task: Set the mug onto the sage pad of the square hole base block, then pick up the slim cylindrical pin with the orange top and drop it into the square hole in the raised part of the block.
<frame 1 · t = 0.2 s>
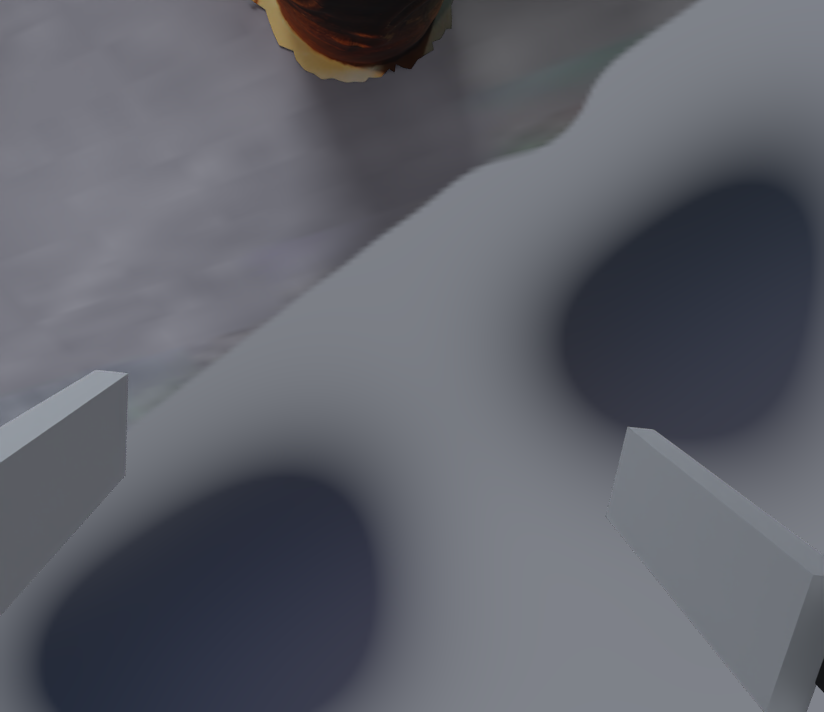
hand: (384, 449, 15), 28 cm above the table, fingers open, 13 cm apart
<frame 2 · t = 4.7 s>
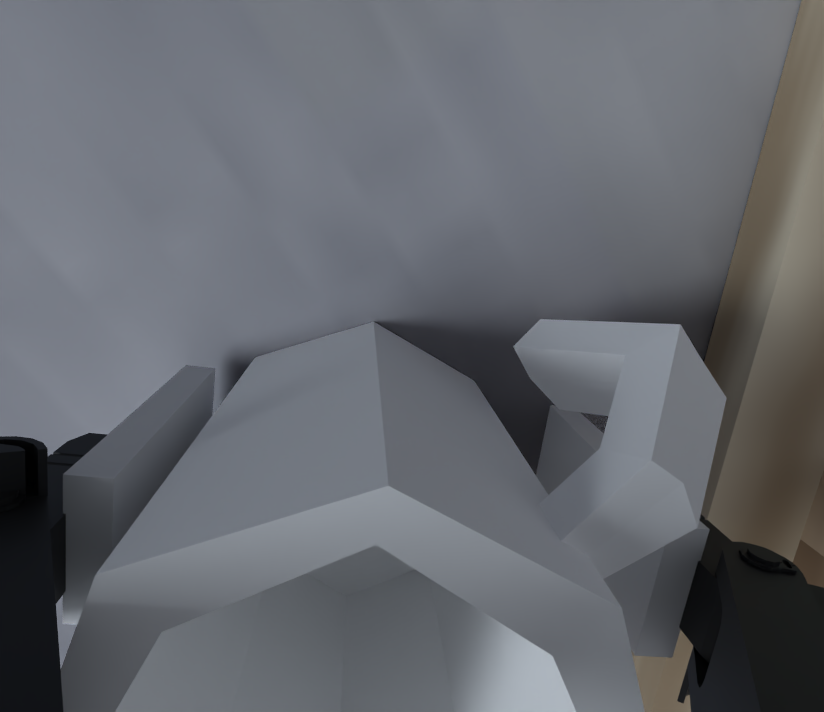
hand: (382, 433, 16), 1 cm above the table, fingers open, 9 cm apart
mug: (407, 421, 17), on the table, touching gripper
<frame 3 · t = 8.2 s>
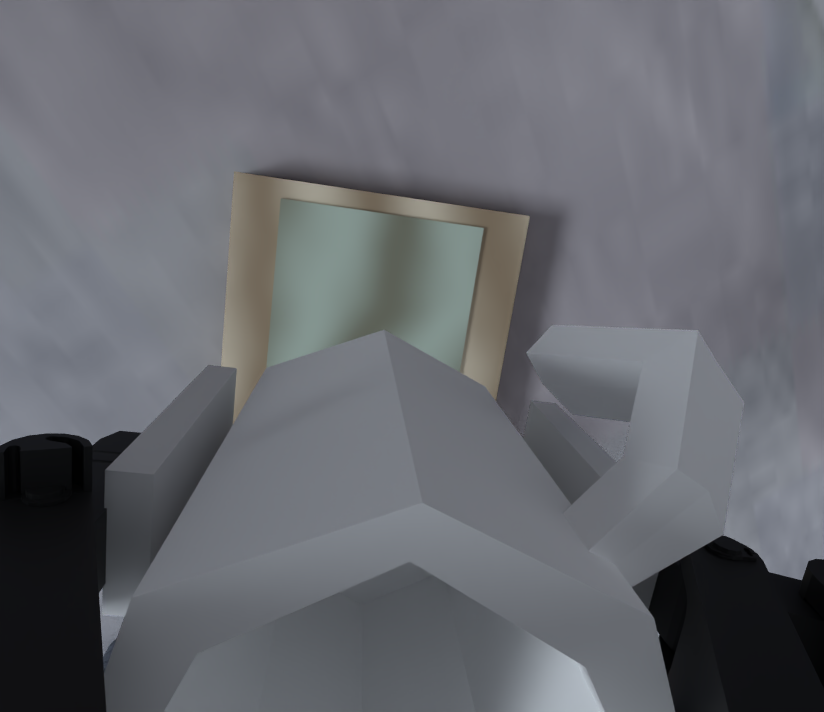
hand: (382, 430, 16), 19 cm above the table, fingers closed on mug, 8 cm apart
mug: (419, 428, 17), point 18 cm above the table, touching gripper
square hole base block: (358, 409, 36), on the table
when the fingers open (4 cm above the table, at t = 11.2 s): mug drops 1 cm, resting on square hole base block.
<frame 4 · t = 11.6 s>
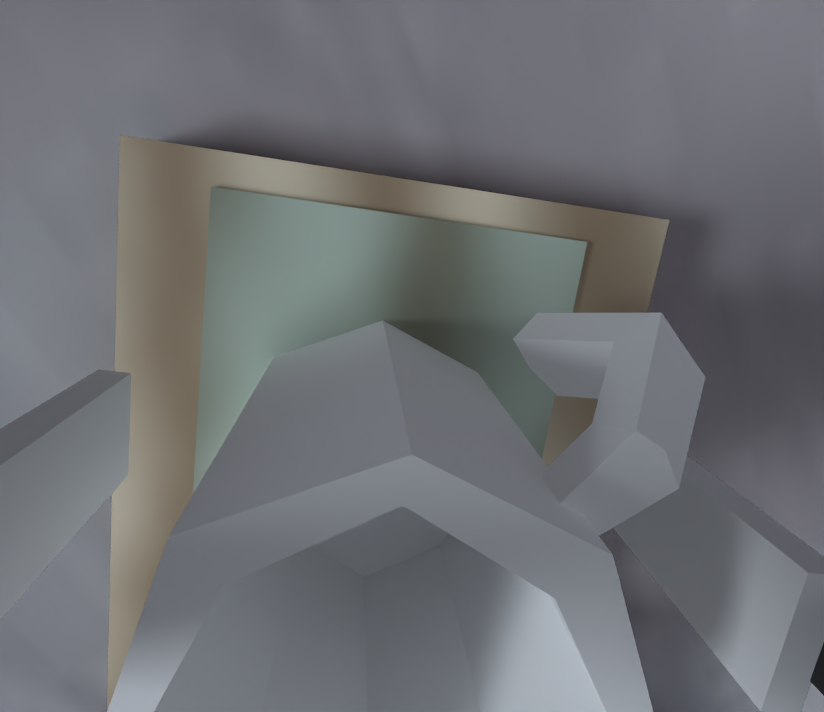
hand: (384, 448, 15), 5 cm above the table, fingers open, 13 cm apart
mug: (417, 412, 18), point 2 cm above the table, touching square hole base block
square hole base block: (357, 541, 21), on the table
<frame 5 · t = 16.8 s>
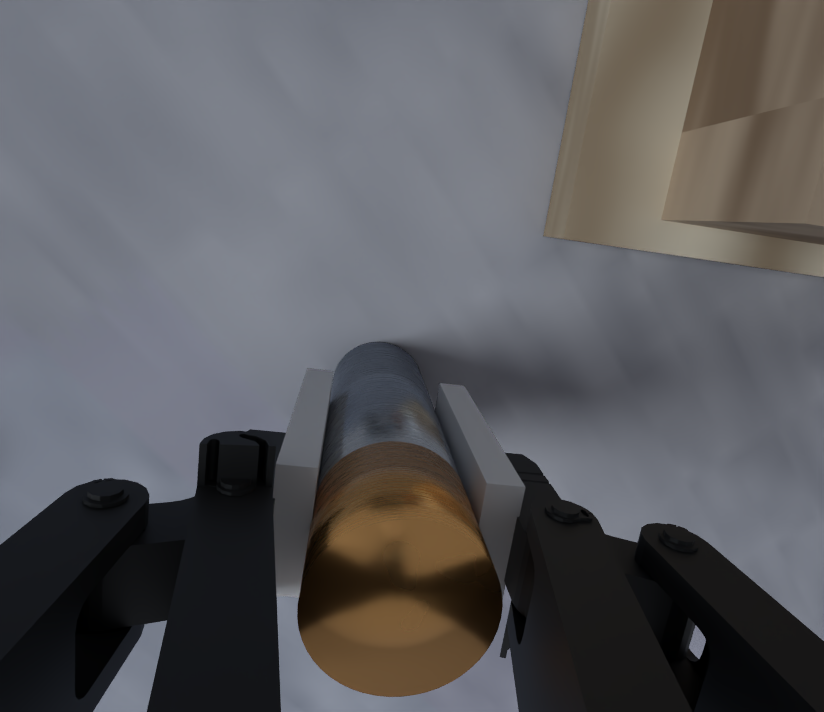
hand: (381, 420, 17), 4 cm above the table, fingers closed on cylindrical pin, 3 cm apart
cylindrical pin: (377, 385, 20), on the table, touching gripper
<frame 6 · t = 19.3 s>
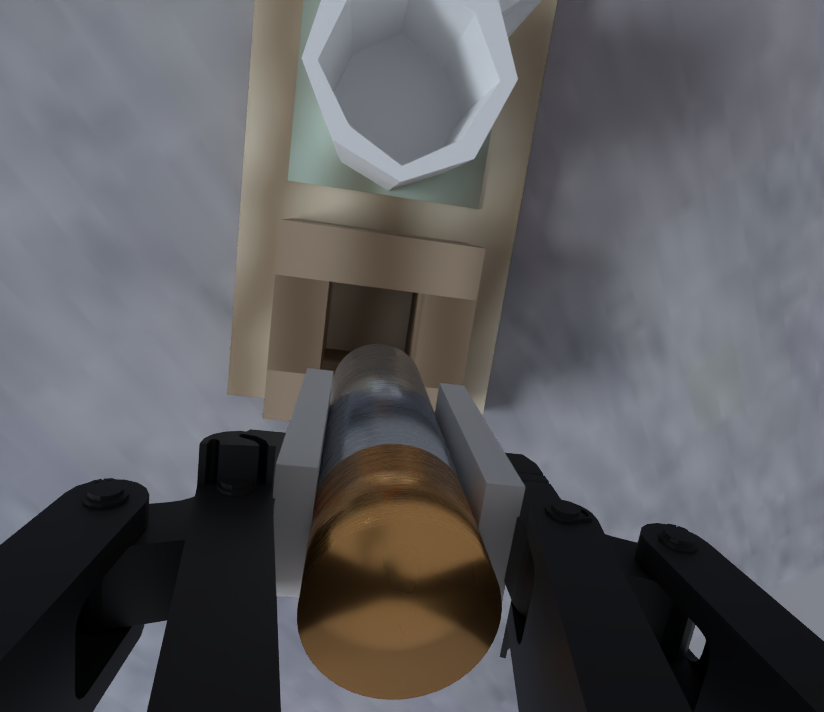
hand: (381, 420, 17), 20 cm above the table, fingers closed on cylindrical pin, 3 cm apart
mug: (420, 86, 32), point 2 cm above the table, touching square hole base block
square hole base block: (383, 196, 35), on the table
cylindrical pin: (377, 386, 20), point 16 cm above the table, touching gripper
when the fingers open (10 cm above the table, at t = 21.8 s): cylindrical pin drops 4 cm, resting on square hole base block.
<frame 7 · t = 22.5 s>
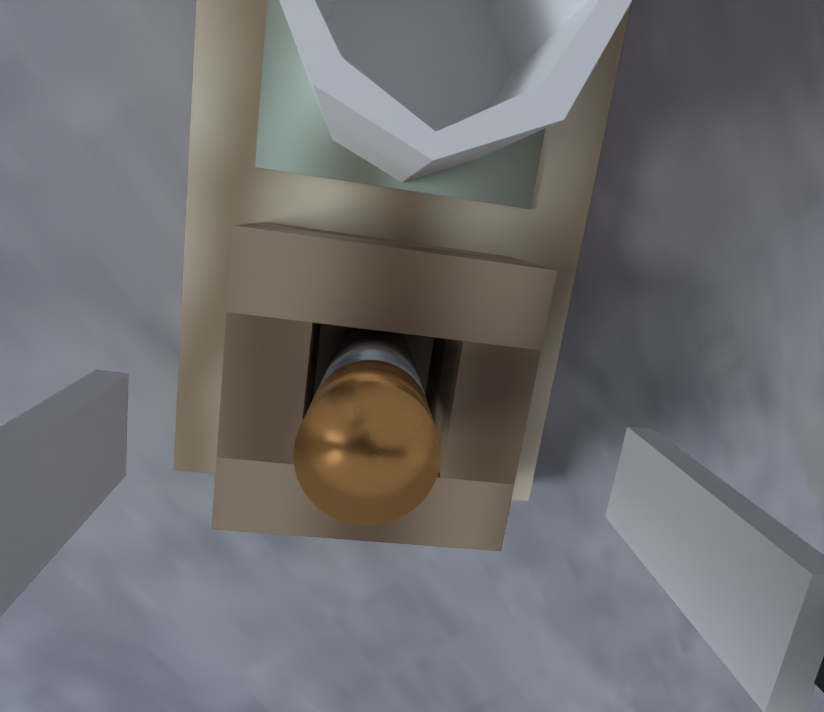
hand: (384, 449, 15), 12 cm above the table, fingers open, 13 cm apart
mug: (449, 29, 21), point 2 cm above the table, touching square hole base block
square hole base block: (393, 190, 25), on the table
cylindrical pin: (373, 359, 24), point 2 cm above the table, touching square hole base block
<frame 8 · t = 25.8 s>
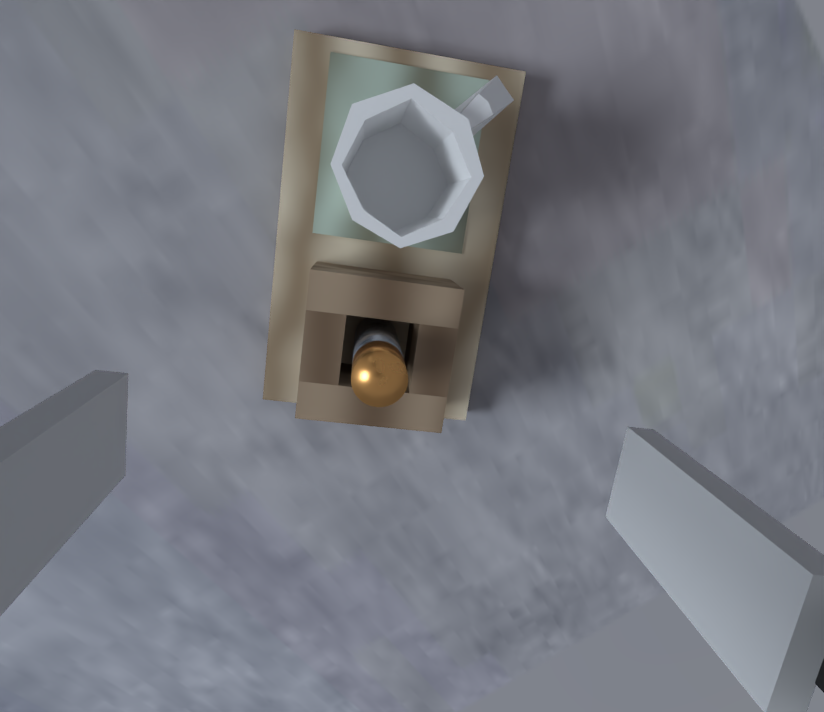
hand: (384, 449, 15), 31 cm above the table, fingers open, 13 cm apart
mug: (415, 160, 41), point 2 cm above the table, touching square hole base block
square hole base block: (386, 241, 44), on the table
cylindrical pin: (375, 336, 43), point 2 cm above the table, touching square hole base block
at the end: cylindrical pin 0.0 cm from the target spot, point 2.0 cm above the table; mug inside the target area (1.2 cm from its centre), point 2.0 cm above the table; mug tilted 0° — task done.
